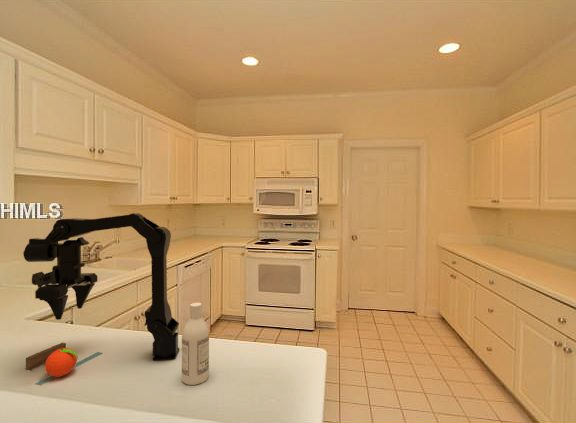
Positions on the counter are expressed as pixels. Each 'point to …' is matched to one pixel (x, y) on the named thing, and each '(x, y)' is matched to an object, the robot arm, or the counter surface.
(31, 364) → the rail
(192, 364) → the bath foam
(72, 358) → the clementine
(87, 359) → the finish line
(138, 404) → the counter surface
